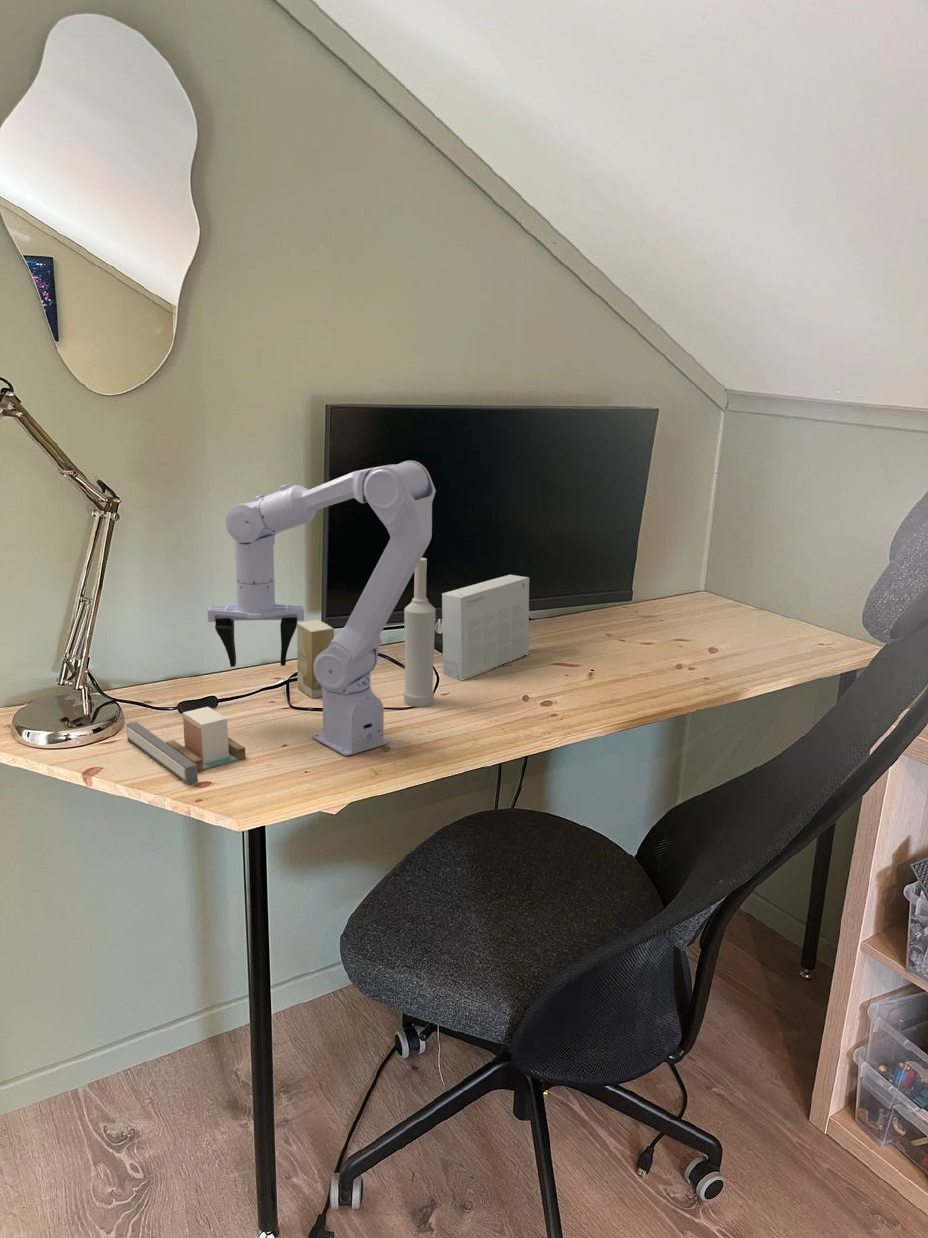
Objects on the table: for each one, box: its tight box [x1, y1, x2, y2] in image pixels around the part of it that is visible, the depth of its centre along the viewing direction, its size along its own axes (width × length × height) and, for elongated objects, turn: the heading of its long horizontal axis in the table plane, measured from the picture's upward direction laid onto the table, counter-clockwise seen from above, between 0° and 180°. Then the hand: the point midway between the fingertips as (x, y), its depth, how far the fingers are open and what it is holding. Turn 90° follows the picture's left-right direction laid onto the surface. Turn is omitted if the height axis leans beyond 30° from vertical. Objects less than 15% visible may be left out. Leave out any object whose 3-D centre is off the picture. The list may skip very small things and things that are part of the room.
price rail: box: [126, 721, 199, 785], centre depth 140 cm, size 20×2×2 cm, turn 41°
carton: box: [182, 706, 229, 764], centre depth 141 cm, size 4×6×6 cm
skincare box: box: [296, 619, 335, 699], centre depth 168 cm, size 6×4×12 cm
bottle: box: [403, 557, 436, 708], centre depth 162 cm, size 5×5×25 cm
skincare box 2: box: [441, 574, 530, 679], centre depth 184 cm, size 21×5×16 cm, turn 141°
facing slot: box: [165, 736, 246, 773], centre depth 142 cm, size 9×8×2 cm
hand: (258, 664), depth 152 cm, fingers open, 7 cm apart
